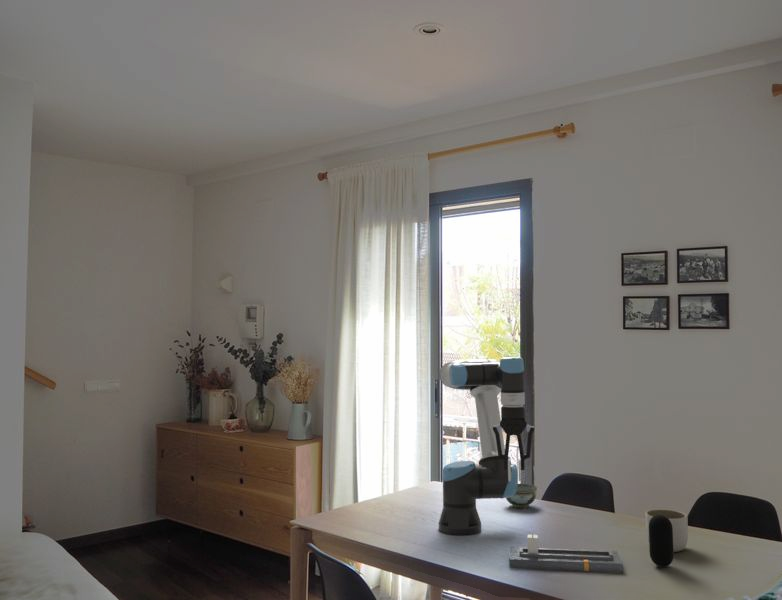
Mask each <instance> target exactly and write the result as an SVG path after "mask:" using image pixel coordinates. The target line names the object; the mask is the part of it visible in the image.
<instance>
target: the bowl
mask: <svg viewBox="0 0 782 600" xmlns="http://www.w3.org/2000/svg"><path fill="white" fill-rule="evenodd" d="M537 488H538V487H537V485H534V484H529V483H517V489H516V493H515V495H514V496H513V497H510V498H505V500H506V501H507V503H509V504H511V505H512V508H514V509H517V510H525V509H529V506H530V505H531V504H532V503H534V501H535V500H536V497H537V490H538V489H537Z"/></svg>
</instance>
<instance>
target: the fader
mask: <svg viewBox="0 0 782 600" xmlns="http://www.w3.org/2000/svg"><path fill="white" fill-rule="evenodd" d="M527 548H528V553H538V548H539V536H538V534H534V533H532V534H527Z"/></svg>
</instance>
